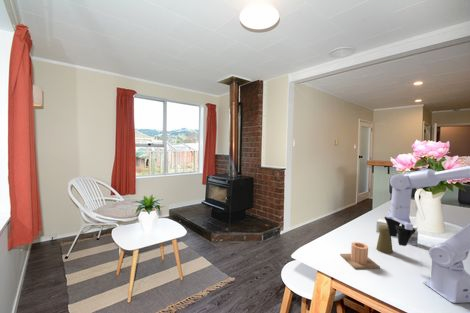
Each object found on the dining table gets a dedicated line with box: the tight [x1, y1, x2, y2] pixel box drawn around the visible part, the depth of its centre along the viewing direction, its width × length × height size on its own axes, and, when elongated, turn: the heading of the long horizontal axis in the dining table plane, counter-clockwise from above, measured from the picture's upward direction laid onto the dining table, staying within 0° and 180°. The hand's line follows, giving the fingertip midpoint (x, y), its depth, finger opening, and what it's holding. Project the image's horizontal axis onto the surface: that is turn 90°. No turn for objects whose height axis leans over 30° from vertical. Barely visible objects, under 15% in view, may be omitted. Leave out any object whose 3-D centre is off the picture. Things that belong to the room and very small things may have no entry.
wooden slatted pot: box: [350, 241, 369, 264], centre depth 86 cm, size 6×6×6 cm
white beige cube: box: [375, 218, 388, 234], centre depth 115 cm, size 6×6×6 cm
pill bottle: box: [407, 224, 419, 246], centre depth 102 cm, size 5×5×8 cm
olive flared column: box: [375, 225, 394, 255], centre depth 95 cm, size 6×6×11 cm
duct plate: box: [339, 253, 381, 270], centre depth 86 cm, size 10×10×4 cm
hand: (397, 240), depth 82 cm, fingers open, 7 cm apart
